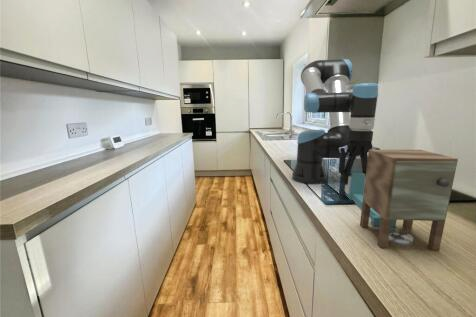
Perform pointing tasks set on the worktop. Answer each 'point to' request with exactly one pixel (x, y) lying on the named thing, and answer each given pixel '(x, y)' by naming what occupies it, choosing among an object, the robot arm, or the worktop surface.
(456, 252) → the worktop surface
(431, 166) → the cabinet
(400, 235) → the silver flat disc
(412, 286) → the worktop surface
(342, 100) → the robot arm
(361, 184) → the teal stepped block
